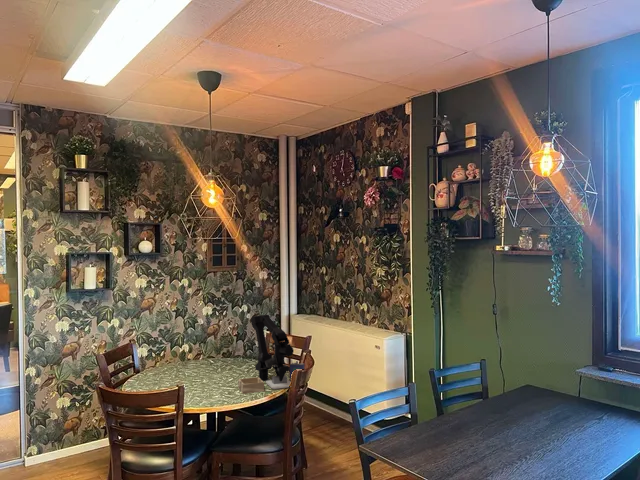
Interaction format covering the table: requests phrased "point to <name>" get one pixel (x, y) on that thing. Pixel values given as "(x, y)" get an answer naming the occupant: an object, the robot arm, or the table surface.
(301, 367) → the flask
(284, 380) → the lid
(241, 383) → the box
